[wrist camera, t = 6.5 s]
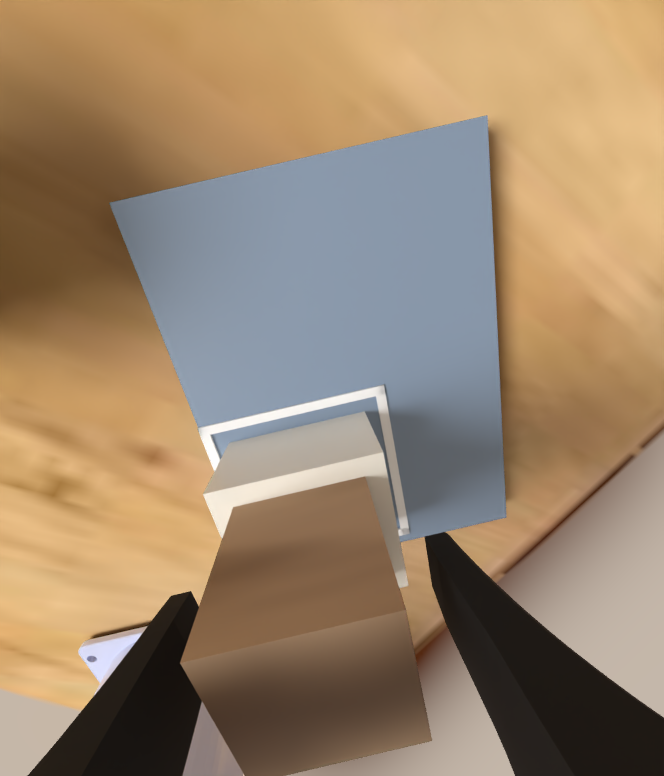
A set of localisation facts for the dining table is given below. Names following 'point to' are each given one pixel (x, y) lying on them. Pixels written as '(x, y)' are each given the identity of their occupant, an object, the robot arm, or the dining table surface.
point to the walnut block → (306, 636)
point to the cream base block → (306, 472)
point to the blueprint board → (342, 309)
